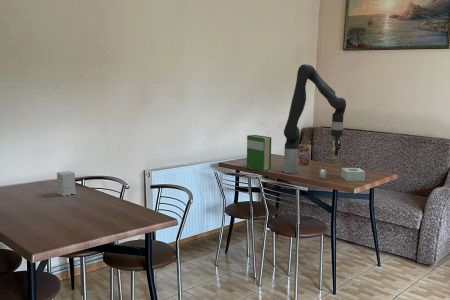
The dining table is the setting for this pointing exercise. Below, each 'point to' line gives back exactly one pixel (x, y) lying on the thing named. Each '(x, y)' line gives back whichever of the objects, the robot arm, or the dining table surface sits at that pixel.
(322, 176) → the short pin
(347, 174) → the hole block
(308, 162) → the candy box
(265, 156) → the hardback book
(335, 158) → the tall pin
